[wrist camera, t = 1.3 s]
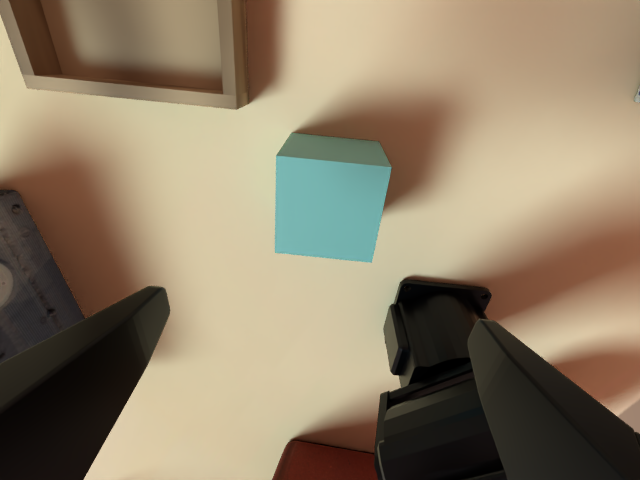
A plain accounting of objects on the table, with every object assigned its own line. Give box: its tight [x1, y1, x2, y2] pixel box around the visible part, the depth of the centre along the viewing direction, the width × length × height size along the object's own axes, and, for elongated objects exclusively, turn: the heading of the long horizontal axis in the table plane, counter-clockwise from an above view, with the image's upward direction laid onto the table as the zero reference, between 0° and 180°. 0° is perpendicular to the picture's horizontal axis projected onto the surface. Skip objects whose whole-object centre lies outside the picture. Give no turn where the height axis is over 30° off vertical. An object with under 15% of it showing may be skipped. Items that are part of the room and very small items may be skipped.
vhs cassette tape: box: [0, 190, 85, 363], centre depth 21 cm, size 18×3×10 cm, turn 178°
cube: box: [275, 133, 392, 263], centre depth 17 cm, size 5×5×5 cm
